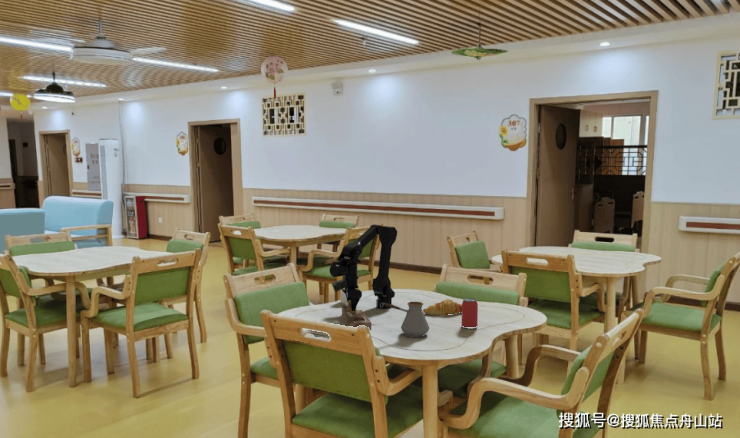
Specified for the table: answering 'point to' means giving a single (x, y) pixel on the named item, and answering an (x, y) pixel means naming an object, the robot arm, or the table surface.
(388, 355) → the table surface
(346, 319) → the guide board
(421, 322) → the coffee pot
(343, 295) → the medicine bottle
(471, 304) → the beer can
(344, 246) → the robot arm
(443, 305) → the croissant
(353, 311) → the brass clip block
